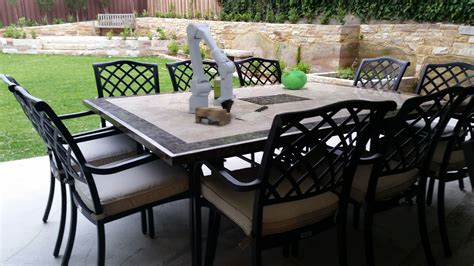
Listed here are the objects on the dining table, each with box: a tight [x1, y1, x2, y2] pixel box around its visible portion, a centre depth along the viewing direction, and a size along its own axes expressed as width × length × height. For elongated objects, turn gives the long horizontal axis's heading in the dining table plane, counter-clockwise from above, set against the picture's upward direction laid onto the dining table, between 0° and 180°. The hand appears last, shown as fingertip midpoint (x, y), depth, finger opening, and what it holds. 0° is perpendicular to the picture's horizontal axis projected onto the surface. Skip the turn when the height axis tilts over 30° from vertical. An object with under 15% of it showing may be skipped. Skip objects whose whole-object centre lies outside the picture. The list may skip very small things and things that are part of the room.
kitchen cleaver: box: [234, 105, 269, 122], centre depth 196 cm, size 31×2×10 cm
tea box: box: [213, 75, 233, 107], centre depth 222 cm, size 15×10×15 cm
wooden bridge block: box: [194, 106, 232, 127], centre depth 178 cm, size 14×8×7 cm, turn 61°
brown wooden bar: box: [200, 117, 219, 125], centre depth 183 cm, size 4×14×2 cm, turn 146°
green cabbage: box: [280, 67, 308, 90], centre depth 275 cm, size 18×17×15 cm
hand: (226, 115), depth 189 cm, fingers closed
